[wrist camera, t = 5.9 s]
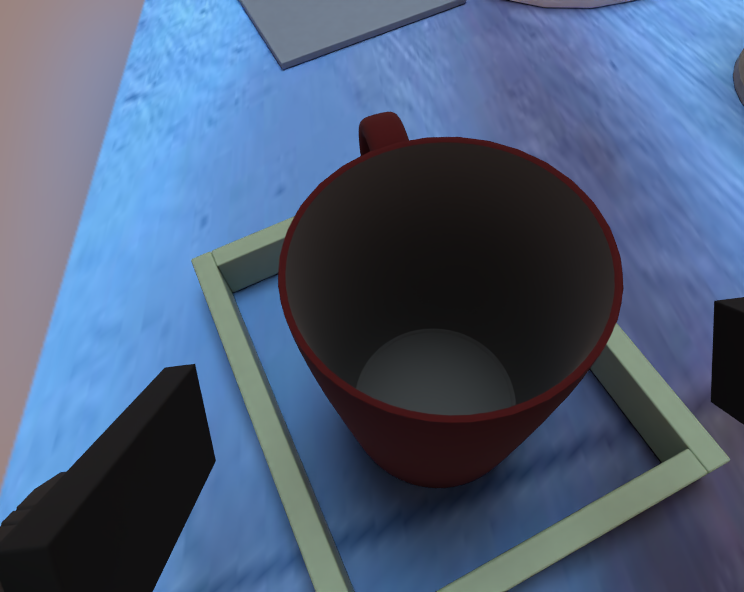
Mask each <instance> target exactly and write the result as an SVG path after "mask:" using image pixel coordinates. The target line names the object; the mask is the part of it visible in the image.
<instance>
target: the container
mask: <svg viewBox="0 0 744 592" xmlns="http://www.w3.org/2000/svg"><path fill="white" fill-rule="evenodd" d="M511 1H516V2H521V3H526V4H531V5H536V6H541V7H563V8H594V7H600V6H605V5H611V4H617V3H622V2H628V1H634V0H511Z"/></svg>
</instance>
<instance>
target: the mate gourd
mask: <svg viewBox="0 0 744 592" xmlns="http://www.w3.org/2000/svg"><path fill="white" fill-rule="evenodd" d="M733 78H734V85H735V89H736V92H737V94H738V96H739V98H740V100H741V102H742V104H743V105H744V49H743V51H742V52H741V54H740V56H739V57H738V59H737V61H736V63H735V67H734V73H733Z"/></svg>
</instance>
